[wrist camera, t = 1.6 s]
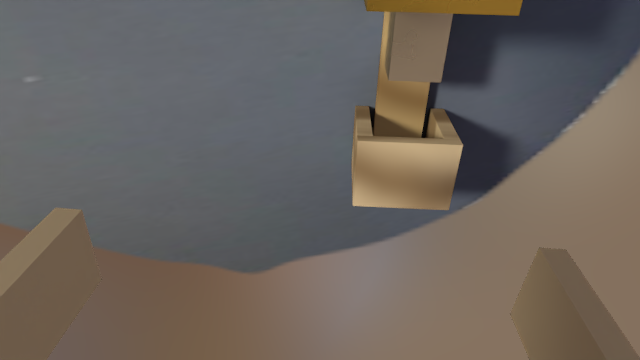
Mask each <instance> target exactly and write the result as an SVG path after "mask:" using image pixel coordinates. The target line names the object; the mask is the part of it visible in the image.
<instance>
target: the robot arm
mask: <svg viewBox="0 0 640 360" xmlns="http://www.w3.org/2000/svg"><path fill="white" fill-rule="evenodd" d="M101 280H102V278H101V274H100V271H99V267H98V264H97V260H96V257H95V254H94V250H93V247H92V243H91V240H90V236H89V233H88V229H87V226H86V223H85V219H84V216H83V212H82V210H77V209H65V208H55V209H54V210H53V211H52V212H51V213H50V214H49V215H47V216H46V217H45V218H44V219H43V220H42V221H41V222H40V223H39V224H38V225H37V226H36V227H35V228H34V229H33V230H32V231H31V232H30V233H29V234H28V235H27V236H26V237H25V238H24V239H23V240H22V241H21V242H20V243H19V244H17V245H16V246H15V247H14V248H13V250H11V251H10V252H9V253H8V254H7V255H6V256H5V257H4V258H3V259H2V260H1V261H0V360H47V358H48V357H49V355H50V354H51V352H52V351H53V349H54V348H55V347H56V345H57V344H58V342H59V341H60V339H61V338H62V336H63V335H64V334H65V332H66V331H67V329H68V328H69V326H70V325H71V323H72V322H73V320H74V319H75V318H76V316H77V314H78V313H79V312H80V310H81V309H82V308H83V306H84V305H85V303H86V302H87V300H88V299H89V297H90V296H91V295H92V293H93V292H94V290H95V289H96V287H97V286H98V284H99V283H100V282H101ZM510 315H511V317H512V320H513V322H514V325H515V327H516V329H517V332H518V334H519V336H520V339H521V341H522V343H523V346H524V348H525V350H526V353H527V355H528V358H529V360H640V358H639V356H638V355H637V353H636V352H635V350H634V349H633V347H632V346H631V344H630V343H629V341H628V340H627V339H626V337H625V336H624V334H623V333H622V331H621V330H620V328H619V327H618V325H617V324H616V322H615V321H614V319H613V318H612V316H611V315H610V313H609V312H608V310H607V309H606V308H605V306H604V305H603V303H602V302H601V300H600V299H599V297H598V296H597V294H596V293H595V291H594V290H593V288H592V287H591V285H590V284H589V283H588V281H587V280H586V278H585V277H584V275H583V274H582V272H581V271H580V269H579V268H578V266H577V265H576V263H575V262H574V261H573V259H572V258H571V256H570V255H569V253H568V252H567V250H563V249H551V248H539V249H538V251H537V253H536V256H535V258H534V260H533V262H532V265H531V267H530V270H529V272H528V274H527V277H526V279H525V281H524V283H523V285H522V288H521V290H520V292H519V294H518V297H517V299H516V301H515V304H514V306H513V308H512V311H511V313H510Z"/></svg>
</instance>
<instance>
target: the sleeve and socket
mask: <svg viewBox="0 0 640 360" xmlns="http://www.w3.org/2000/svg"><path fill="white" fill-rule="evenodd" d="M389 14H390V12H384V22H383V32H382V43H381V53H380V64H379V74H378V85H377V96H376V106H375V117H374V127H373V134H372V127H371V119H370V111H369V106H355V121H354V135H353V150H352V196H353V206H369V207H391V208H413V209H436V210H449V206H450V202H451V197H452V193H453V188H454V184H455V179H456V175H457V170H458V166H459V162H460V157H461V153H462V148H463V144H462V142H461V140H460V138H459V136H458V135H457V133H456V131H455V129H454V127H453V125H452V123H451V122H450V120H449V118H448V116H447V114H446V112H445V110H444V109H432V108H430V113H429V119H428V125H427V131H426V137H425V138H421V136H422V130H423V124H424V118H425V111H426V105H427V99H428V93H429V87H430V82H413V81H388V77H387V73H386V70H385V66H384V64H385V54H386V44H387V34H388V24H389Z"/></svg>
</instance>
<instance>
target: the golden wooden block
mask: <svg viewBox="0 0 640 360" xmlns="http://www.w3.org/2000/svg"><path fill="white" fill-rule="evenodd" d="M522 1H523V0H364V2H365V6H366V10H367V11H381V12H390V14H389V24H388V34H387V44H386V54H385V64H384V66H385V70H386V73H387V77H388V81H413V82H441V80H442V74H443V68H444V63H445V57H446V51H447V46H448V40H449V34H450V29H451V23H452V17H453V14H482V15H515V16H519V13H520V9H521V5H522Z"/></svg>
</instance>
